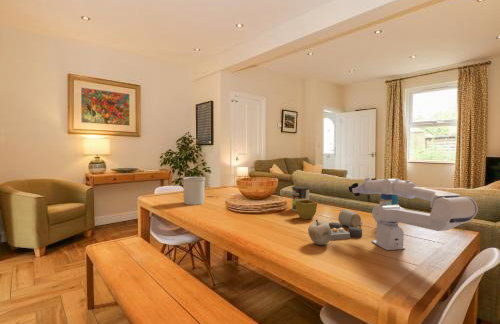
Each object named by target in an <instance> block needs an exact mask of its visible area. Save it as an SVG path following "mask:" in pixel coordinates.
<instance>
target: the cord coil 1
mask: <svg viewBox="0 0 500 324" xmlns="http://www.w3.org/2000/svg"><path fill="white" fill-rule="evenodd" d="M328 225H329V226H330V229H333V228H336V229H339V228H342V224H340V222H328Z"/></svg>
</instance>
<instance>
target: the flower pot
mask: <svg viewBox="0 0 500 324" xmlns="http://www.w3.org/2000/svg"><path fill="white" fill-rule="evenodd" d="M295 202H296V210H297V211H296V212H297V215H298V217H299V218H301V219H303V220H308V219H311V220H312V219H313V218H314V217H315V215H316V212H317V208H318V202H316V201H314V200H311V199H309V200H298V201H295Z"/></svg>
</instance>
